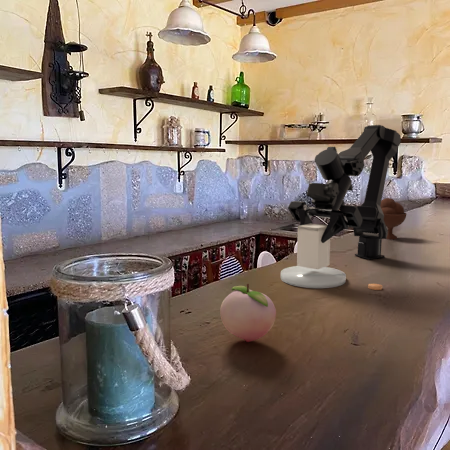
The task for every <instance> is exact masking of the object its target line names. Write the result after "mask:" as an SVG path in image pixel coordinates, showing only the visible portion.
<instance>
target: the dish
mask: <svg viewBox="0 0 450 450" xmlns="http://www.w3.org/2000/svg"><path fill="white" fill-rule="evenodd" d="M346 279H347V274H346V272H344V271H342V270H341V269H336V268H334V267H328V266H326V267H323V268H320V269H312V268H307V267H301V266H297V265H293V266H289V267H284V268H283V269H282V270H281V271H280V280H281V281H282V282H283V283H285V284H287V285H290V286H293V287H294V286H295V287H299V288H307V289H329V288H331V289H332V288H337V287H340V286H343V285H345V283H346V282H347V281H346Z"/></svg>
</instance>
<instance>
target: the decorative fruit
mask: <svg viewBox="0 0 450 450" xmlns="http://www.w3.org/2000/svg"><path fill="white" fill-rule="evenodd" d="M249 286H250V284H249V283H247V284H246V286H245V285H238V286H237V285H235V286H233V287H232V288H231V292H230V293H229V294H228V295H227V296H226V297H224V299H223V301H222V302H221V305H220V309H219V313H220V318H221V319H220V320H221V322H222V324H223V326H224V328H225V330H227V331H228V332H229V333H230V334H232V335H234V336H235V337H237V338H239V339H242V340H245V341H246V343H249V342H254V341H256V340H258V339H261V338H262V337H264V336H265V335H267V334H268V333H269V332H270V330H271V329H272V327H273V326H274V324H275V322H276V317H277V309H276V307H275V304H274V302H273V300H272V299H271V298H270V297H269V296H268V295H266V294H264V293H262V292H260V291H255V290H252V289H250V287H249Z"/></svg>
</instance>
